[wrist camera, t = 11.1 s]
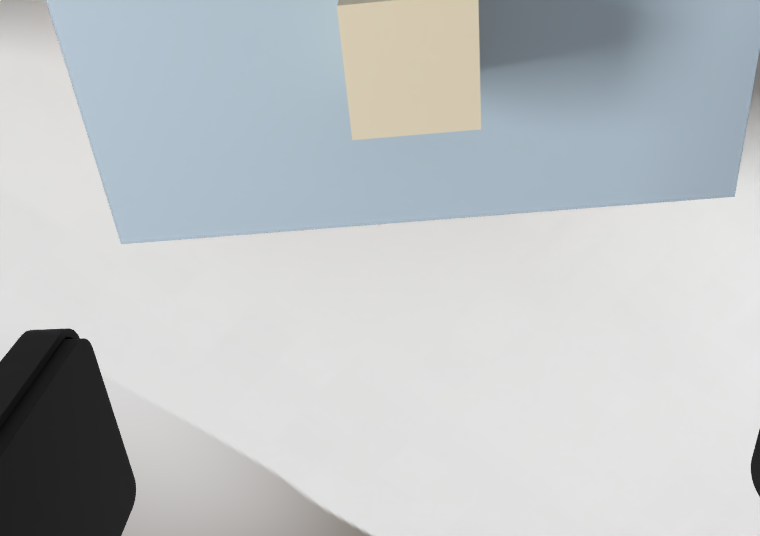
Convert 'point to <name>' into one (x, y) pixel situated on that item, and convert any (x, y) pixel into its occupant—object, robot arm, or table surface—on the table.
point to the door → (403, 107)
